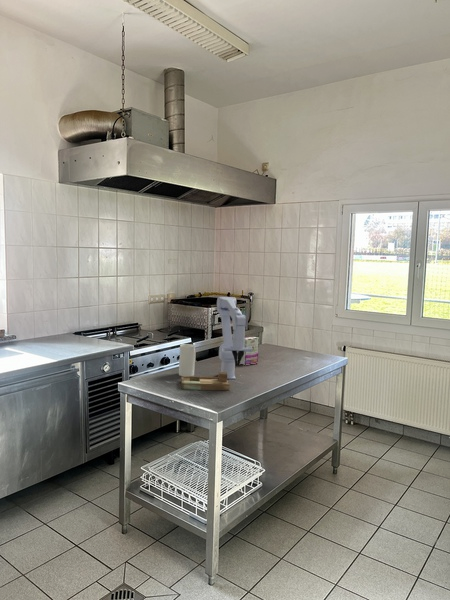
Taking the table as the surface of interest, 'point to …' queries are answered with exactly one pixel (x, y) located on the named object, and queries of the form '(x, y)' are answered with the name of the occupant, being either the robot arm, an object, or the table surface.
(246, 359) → the candy bar box
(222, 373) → the walnut cube
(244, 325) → the robot arm
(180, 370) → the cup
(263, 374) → the table surface
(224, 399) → the table surface
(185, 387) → the trap tray
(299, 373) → the table surface
